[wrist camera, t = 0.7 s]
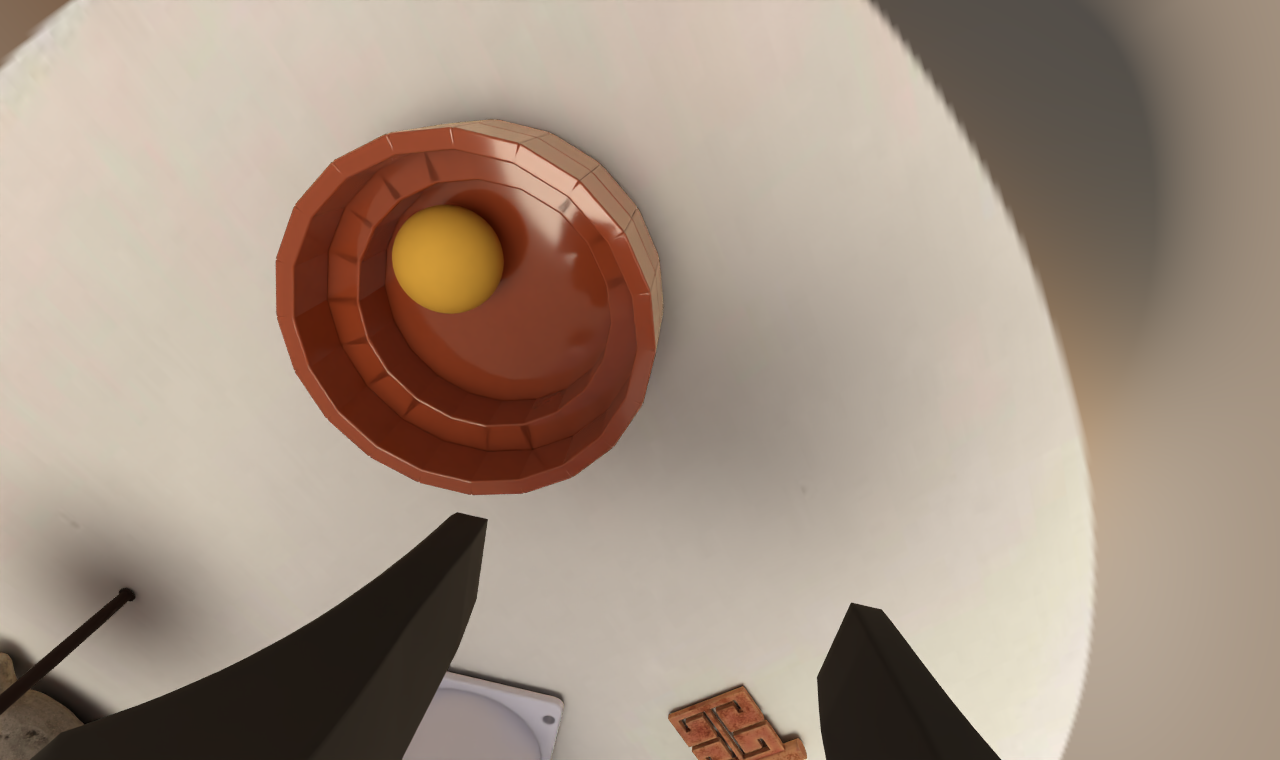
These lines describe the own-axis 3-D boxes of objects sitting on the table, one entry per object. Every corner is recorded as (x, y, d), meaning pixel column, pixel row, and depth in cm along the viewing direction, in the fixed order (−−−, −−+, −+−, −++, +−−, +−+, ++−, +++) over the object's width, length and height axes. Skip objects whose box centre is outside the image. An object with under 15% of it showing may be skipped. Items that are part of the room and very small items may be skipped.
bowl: (625, 458, 23) (611, 529, 19) (344, 391, 23) (277, 449, 19) (699, 166, 19) (697, 186, 15) (355, 82, 19) (271, 82, 15)
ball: (508, 305, 21) (478, 340, 18) (414, 282, 21) (369, 313, 18) (522, 210, 19) (492, 230, 17) (422, 185, 19) (375, 203, 17)
